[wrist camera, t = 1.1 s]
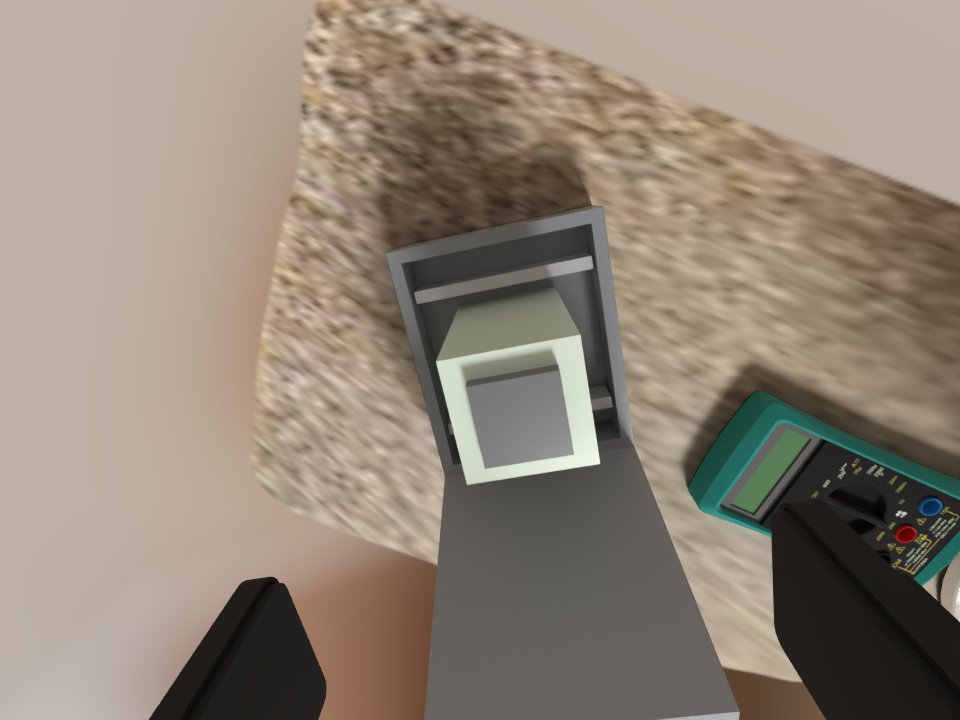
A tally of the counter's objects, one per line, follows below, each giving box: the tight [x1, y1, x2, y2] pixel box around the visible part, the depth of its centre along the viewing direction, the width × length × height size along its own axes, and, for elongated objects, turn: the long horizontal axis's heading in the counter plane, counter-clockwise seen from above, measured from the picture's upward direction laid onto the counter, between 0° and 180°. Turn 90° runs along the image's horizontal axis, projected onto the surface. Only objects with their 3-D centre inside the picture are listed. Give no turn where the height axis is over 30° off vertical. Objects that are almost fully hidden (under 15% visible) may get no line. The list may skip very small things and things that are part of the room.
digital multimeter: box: [688, 391, 960, 586], centre depth 28 cm, size 7×15×3 cm, turn 66°
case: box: [386, 205, 634, 477], centre depth 25 cm, size 10×12×3 cm
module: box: [436, 287, 600, 485], centre depth 21 cm, size 5×5×10 cm
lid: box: [424, 447, 740, 720], centre depth 21 cm, size 10×12×1 cm
